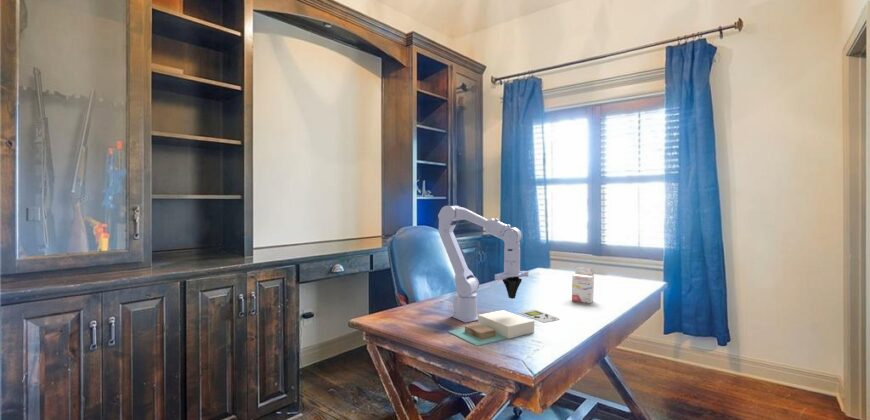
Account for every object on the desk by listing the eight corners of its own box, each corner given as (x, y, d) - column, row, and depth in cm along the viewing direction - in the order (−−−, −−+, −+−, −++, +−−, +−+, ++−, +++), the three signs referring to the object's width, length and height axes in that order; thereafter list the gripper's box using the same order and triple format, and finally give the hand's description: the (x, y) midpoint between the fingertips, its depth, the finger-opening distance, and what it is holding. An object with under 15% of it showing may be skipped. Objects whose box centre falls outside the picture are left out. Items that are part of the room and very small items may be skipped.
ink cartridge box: (571, 300, 185) (571, 268, 185) (574, 298, 190) (574, 266, 189) (591, 303, 181) (591, 270, 180) (593, 301, 185) (594, 268, 184)
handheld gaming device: (543, 321, 153) (517, 311, 166) (543, 323, 153) (517, 313, 166) (561, 318, 157) (534, 308, 171) (561, 320, 157) (534, 310, 171)
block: (478, 323, 145) (478, 328, 145) (464, 326, 142) (464, 331, 142) (495, 330, 137) (495, 336, 137) (481, 333, 134) (481, 339, 134)
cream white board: (478, 325, 149) (478, 314, 149) (503, 320, 156) (503, 309, 156) (508, 338, 136) (508, 326, 136) (534, 332, 142) (534, 320, 142)
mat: (448, 332, 143) (448, 331, 142) (478, 325, 149) (478, 324, 149) (477, 346, 129) (477, 345, 129) (508, 338, 136) (508, 337, 136)
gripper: (504, 264, 143) (503, 303, 143) (534, 260, 150) (534, 297, 151) (491, 261, 149) (490, 298, 149) (520, 258, 156) (520, 293, 157)
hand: (511, 297), depth 150 cm, fingers closed
